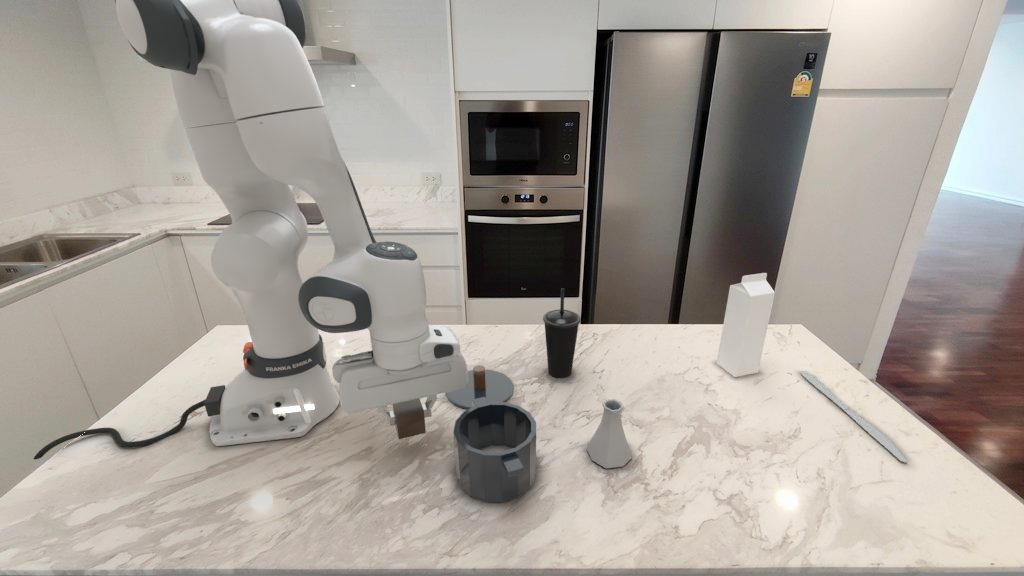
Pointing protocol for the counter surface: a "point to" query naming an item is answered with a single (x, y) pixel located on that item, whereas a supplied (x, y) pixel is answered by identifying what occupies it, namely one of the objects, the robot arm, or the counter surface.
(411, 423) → the block
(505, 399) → the lid
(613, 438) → the flask
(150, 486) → the counter surface
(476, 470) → the pot
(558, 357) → the drinking cup
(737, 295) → the milk
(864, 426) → the butter knife
